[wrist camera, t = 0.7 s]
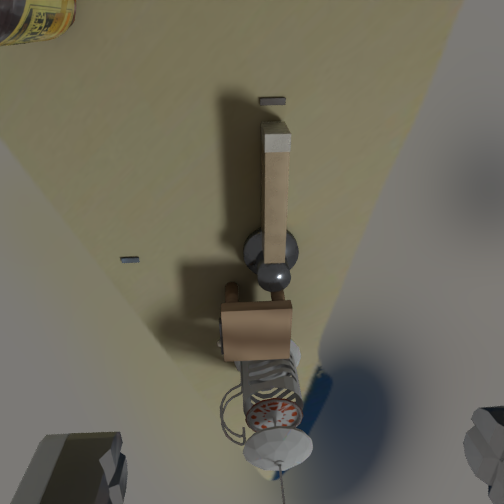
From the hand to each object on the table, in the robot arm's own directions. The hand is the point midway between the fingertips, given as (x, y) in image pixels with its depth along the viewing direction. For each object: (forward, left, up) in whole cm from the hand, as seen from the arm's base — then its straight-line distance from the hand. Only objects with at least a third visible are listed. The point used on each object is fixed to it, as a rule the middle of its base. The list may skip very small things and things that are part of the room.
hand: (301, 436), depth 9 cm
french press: (+34, +2, -34) cm, 48 cm away
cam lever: (+10, +3, -33) cm, 35 cm away
